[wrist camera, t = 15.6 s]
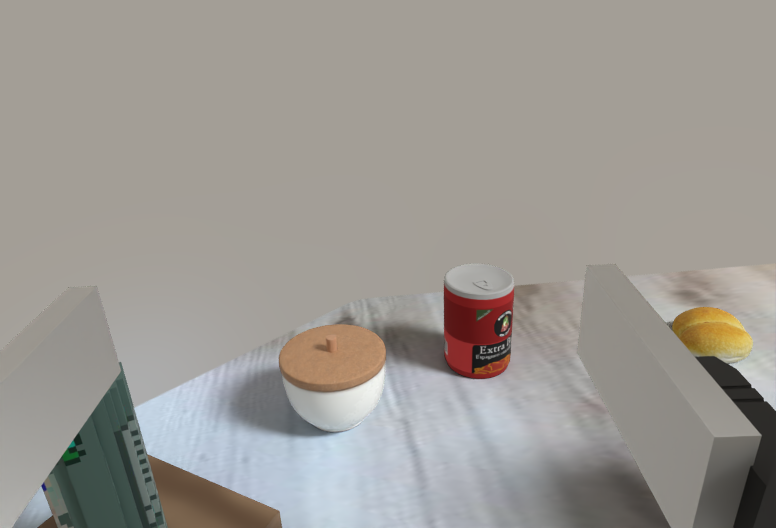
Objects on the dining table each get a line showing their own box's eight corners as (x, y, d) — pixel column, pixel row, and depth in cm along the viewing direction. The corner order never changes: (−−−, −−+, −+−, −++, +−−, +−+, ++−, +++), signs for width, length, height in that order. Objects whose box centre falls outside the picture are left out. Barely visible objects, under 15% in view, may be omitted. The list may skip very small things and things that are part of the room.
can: (79, 538, 44) (17, 372, 37) (164, 508, 46) (119, 347, 40) (79, 607, 39) (7, 429, 32) (174, 569, 41) (124, 396, 35)
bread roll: (684, 365, 67) (690, 335, 66) (665, 325, 75) (669, 297, 73) (763, 369, 66) (771, 339, 64) (735, 328, 74) (741, 300, 72)
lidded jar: (409, 406, 62) (406, 330, 58) (339, 464, 55) (331, 383, 51) (337, 371, 69) (330, 301, 65) (266, 419, 61) (253, 343, 57)
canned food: (480, 389, 64) (482, 301, 60) (430, 359, 70) (428, 277, 65) (524, 362, 69) (529, 278, 64) (473, 335, 74) (475, 257, 70)
